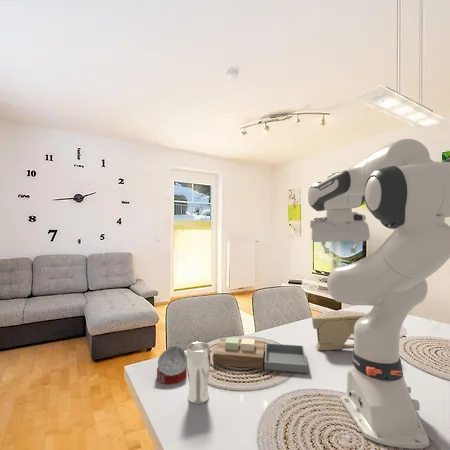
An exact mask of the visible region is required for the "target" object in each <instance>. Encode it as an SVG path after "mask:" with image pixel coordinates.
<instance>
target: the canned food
mask: <svg viewBox="0 0 450 450" xmlns="http://www.w3.org/2000/svg"><path fill="white" fill-rule="evenodd" d="M186 360H187V353H186V352H185V350H183V348H181V347H178V346H172V347H171V346H170V347H168V348H167V349H165V350H164V351H163V352H162V353H161V354H160V355H159V357H158V361H157V368H156V380H157V381H158V382H159V383H160V384H163V385H176V384H179V383H181V382H183V381H185V380H186V378H187V377H188V373H187V362H186Z"/></svg>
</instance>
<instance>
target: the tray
mask: <svg viewBox="0 0 450 450" xmlns="http://www.w3.org/2000/svg"><path fill="white" fill-rule="evenodd" d="M308 365H309V364H308V361H307V358H306V353H305V349H304V346H303V345H296V344H295V345H294V344H282V343H281V344H280V343H270V342H269V343H268V342H267V343H265V354H264V372H276V373H277V372H278V373H288V374H289V373H290V374H299V375H301V374H302V375H308V369H309V368H308Z"/></svg>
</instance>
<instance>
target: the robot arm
mask: <svg viewBox="0 0 450 450" xmlns="http://www.w3.org/2000/svg"><path fill="white" fill-rule="evenodd" d="M307 200H308V201H307V202H308V205H309V206H310V207H311V208H312V209H313V210H315V211H316V212H324V211H325V212H326V216H325V217H314V218H313V219H311V220H310V222H309V223H310V225H309V226H310V229H311V240H312V242H314V243H321V246H322V247H323V249H324V254H330V248H327V247H326V246H325V245H326V244H327V243H331V242H333V243H334V242H353V243H354V245H353V247H350V253H351V254H356V253H357V248H358V246H359V244H360V242H364V241H369V240H370V237H371V236H370V235H371V234H370V228H369V227H370V226H369V224H368V223H367V221H366V219H367V218H366V215H365V214H362V213H358V212H356V211H354V212H353V209H356V208H360V207H362V206H363V204H365V205H366V208H367V210H368V211H369V212H370V213H371V215H372V216H374V218H375V219H377V220H378V221H379V222H380V223H381V224H382V226H384V227H385V228H387V229H390V230H391V229H392V230H393V232H392V234H390V235H389V236H388V238H387V239H386V240H385V241H384V242H383V243H382V244H381V245H380V246H379V247H378V248H377V249H376V250H375V251H374V252H373V253H371V254H370V255H367V256H365V257H362V258H361V259H359V260H357V261H354V262H352V263H350V264H346V265H342V266H339V267H334V268H333V269H332V270H331V271H330V273H329V274H328V277H327V281H326V286H327V291H328V293H329V295H330V296H331V298H332V299H333V300H334V301H336V302H338V303H340V304H341V303H342V304H347V305H351V306H372V309H371V310H370V311H369V312H368V313H367V314H365V316H363V317H361V318H360V319H358V320H357V322H356V324H355V326H354V334H353V344H354V348H352V354H351V355H352V356H351V358H352V364H353V365H351V366H352V367H351V368H350V369H348V371H347V372H346V388H345V389H346V392H345V394H343V395H341V397H340V403H341V404H342V405H343V407H344V409H345V410H346V411H347V413H348V414H349V416H350V417H351V419H352V420H353V422H354V423H355V424H356V426H357V427H358V428H359V430H360V431H361V433H362V434H363V436H364V437H365V438H367V439H368V440H370V441H371V442H375V443H377V444H381V445H384V446H390V447H394V448H400V449H401V448H402V449H409V450H411V449H412V450H414V449H424V448H428V447H429V446H430V444H431V443H430V440H429V437H428V434H427V433H426V430H425V428H424V426H423V424H422V422H421V419H420V417H419V414H418V413H417V411H420V408H421V407H420V403H419V402H420V401H419V400H418V399H414V398H412V397H411V394H412V389H411V387H410V386H407V385H408V384H407V383H406V380H405V376H404V372H403V363H402V360H401V358H400V338H401V337H400V336H401V331H402V327H403V324H404V322H405V320H406V318H407V316H408V315H409V314H410V312H411V311H412V310H413V309H414V308H415V307H416V306H418V305H419V304H421V303H422V302H424V301H425V299H426V296H427V294H428V292H429V291H428V290H429V289H428V282H427V278H429V277H431V276H432V275H433V274H434V273H436V272H437V271H438V270H439V269H441V267H443V266H444V265H445V263H447V262H448V260H449V259H450V225H449V224H448V223H447V222H445V219H446V218H448V217H450V158H447V159H446V160H444V161H434V160H432V158H431V155H430V152H429V150H428V148H427V147H426V145H424V144H423V143H422V142H421V141H419V140H417V139H413V138H402V139H399V140H396V141H393V142H390V143H389V144H386V145H385V146H383V147H381V148H379V149H377V150H376V151H375V152H373V153H372V154H370V155H369V156H368V157H366V158H365V159H363V160H361V161H359V162H358V163H356V164H354V165H352V166H350V167H348V168H346V169H344V170H342V171H338V172H333V173H330V174H329V175H327V178H326V179H325V180H323V181H314V183H313V184H312V185H311V186H310V187H309V189H308V192H307Z"/></svg>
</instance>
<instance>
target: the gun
mask: <svg viewBox="0 0 450 450" xmlns="http://www.w3.org/2000/svg"><path fill="white" fill-rule="evenodd" d="M365 315H366V314H365V313H354V314H353V313H351V314H350V313H349V314H339V315H328V316H327V315H326V316H323V315H322V316H312V317H311V322H312V328H313V329H314V330H316V334H317V343H316V345H315V348H316V350H317V351H319V352H323V351H340V350H341V351H342V350H344V349H345V350H348V349H352V350H353V349H354V343H346V342H347V341H348V340H349V338H350V337H351V335H352V334H353V335H354V326H355V324H356V322H357V320H358V319H360V318H361V317H363V316H365Z"/></svg>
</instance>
